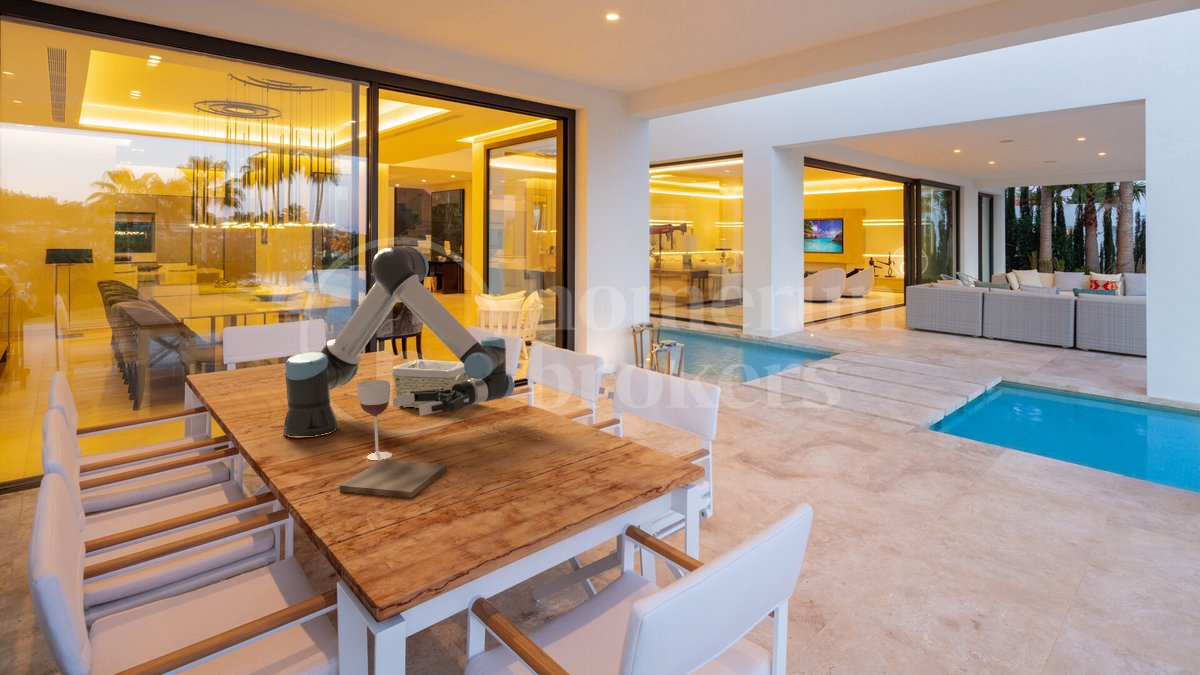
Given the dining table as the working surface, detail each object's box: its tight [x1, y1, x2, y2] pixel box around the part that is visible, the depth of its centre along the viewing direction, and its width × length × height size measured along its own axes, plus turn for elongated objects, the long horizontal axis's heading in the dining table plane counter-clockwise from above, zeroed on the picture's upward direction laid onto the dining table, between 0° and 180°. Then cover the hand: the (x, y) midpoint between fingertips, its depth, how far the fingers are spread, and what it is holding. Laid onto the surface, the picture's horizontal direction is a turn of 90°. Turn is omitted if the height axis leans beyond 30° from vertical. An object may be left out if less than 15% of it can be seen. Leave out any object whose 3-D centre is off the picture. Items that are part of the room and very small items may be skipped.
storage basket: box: [391, 358, 472, 412], centre depth 221 cm, size 24×16×15 cm
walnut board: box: [339, 459, 448, 499], centre depth 151 cm, size 18×18×2 cm
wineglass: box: [356, 379, 393, 461], centre depth 167 cm, size 8×9×20 cm
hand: (406, 406), depth 173 cm, fingers open, 13 cm apart
